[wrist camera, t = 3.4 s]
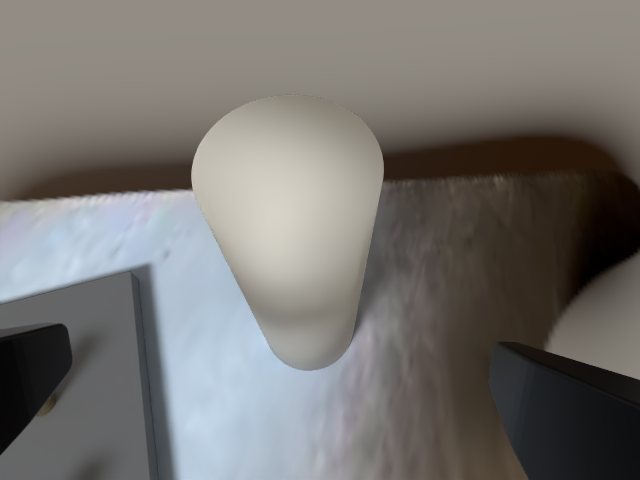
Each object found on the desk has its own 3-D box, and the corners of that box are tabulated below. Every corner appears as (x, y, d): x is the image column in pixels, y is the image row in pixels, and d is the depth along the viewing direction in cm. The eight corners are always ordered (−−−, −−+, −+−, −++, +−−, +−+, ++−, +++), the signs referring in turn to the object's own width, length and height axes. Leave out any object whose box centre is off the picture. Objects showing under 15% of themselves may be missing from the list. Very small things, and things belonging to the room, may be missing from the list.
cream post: (365, 355, 21) (413, 219, 9) (276, 382, 20) (208, 275, 9) (338, 274, 23) (349, 78, 11) (256, 296, 22) (179, 116, 11)
